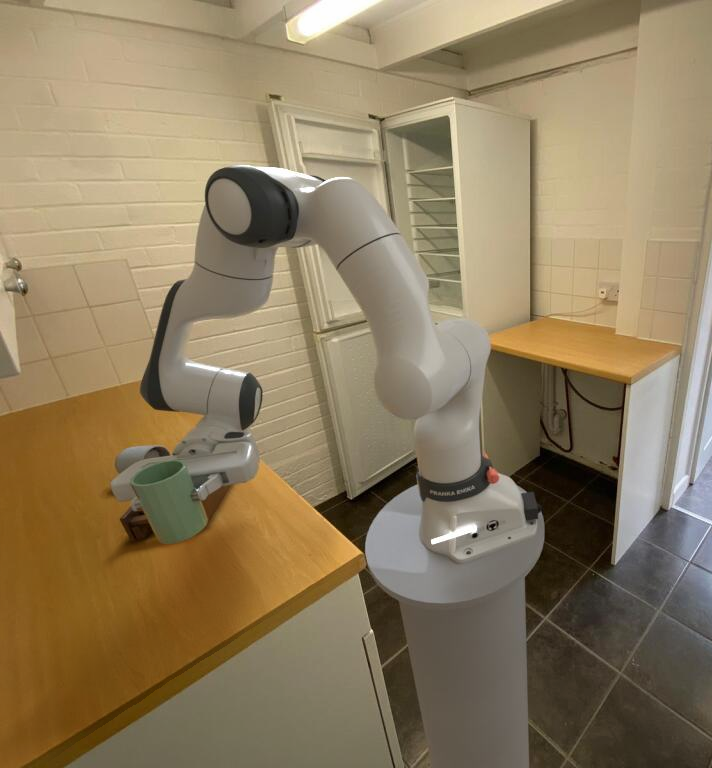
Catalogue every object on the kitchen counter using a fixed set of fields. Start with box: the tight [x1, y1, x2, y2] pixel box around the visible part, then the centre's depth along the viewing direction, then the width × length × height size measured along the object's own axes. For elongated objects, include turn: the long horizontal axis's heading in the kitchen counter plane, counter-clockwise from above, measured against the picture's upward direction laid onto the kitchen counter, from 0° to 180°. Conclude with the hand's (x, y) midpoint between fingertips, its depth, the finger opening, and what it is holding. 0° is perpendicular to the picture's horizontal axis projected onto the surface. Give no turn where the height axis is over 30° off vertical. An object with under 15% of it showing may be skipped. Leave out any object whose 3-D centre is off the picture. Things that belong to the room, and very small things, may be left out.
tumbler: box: [130, 460, 209, 545], centre depth 65 cm, size 7×7×11 cm
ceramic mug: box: [114, 444, 172, 474], centre depth 98 cm, size 11×8×8 cm
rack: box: [119, 485, 231, 542], centre depth 87 cm, size 13×15×6 cm
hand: (167, 502), depth 64 cm, fingers closed on tumbler, 6 cm apart
